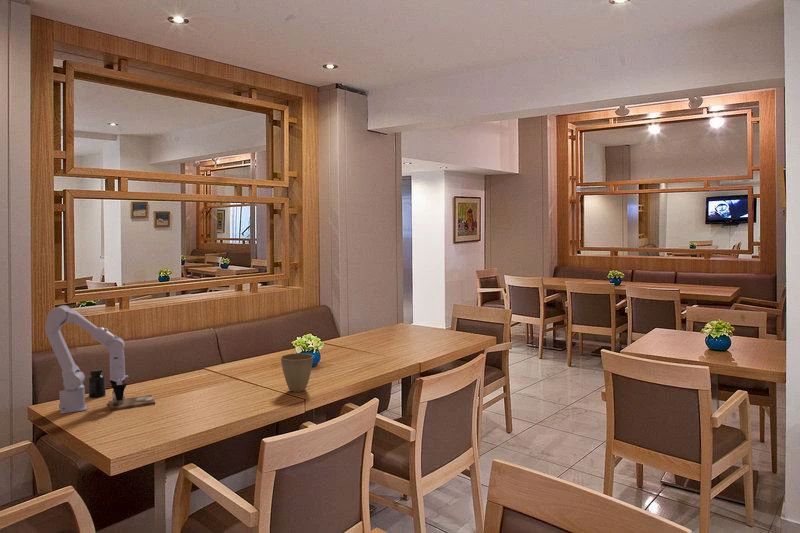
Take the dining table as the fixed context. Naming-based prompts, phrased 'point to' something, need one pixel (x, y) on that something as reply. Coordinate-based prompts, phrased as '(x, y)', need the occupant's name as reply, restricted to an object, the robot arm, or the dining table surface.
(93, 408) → the dining table surface
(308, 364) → the plant pot
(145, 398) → the base
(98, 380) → the supplement bottle
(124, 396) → the knob
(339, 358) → the dining table surface
